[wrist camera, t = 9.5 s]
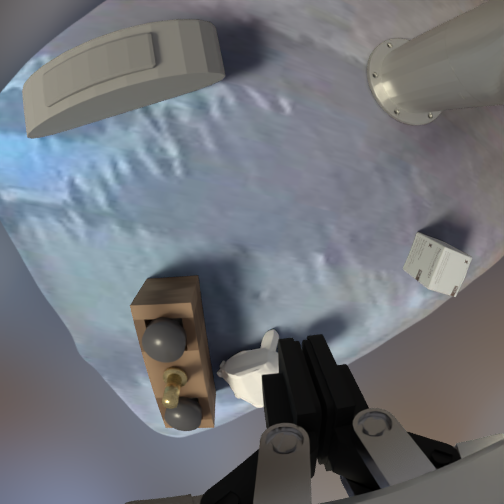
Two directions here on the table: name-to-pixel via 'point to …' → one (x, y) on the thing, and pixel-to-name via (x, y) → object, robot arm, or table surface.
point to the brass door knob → (173, 386)
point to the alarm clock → (121, 74)
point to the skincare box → (437, 264)
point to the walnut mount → (196, 349)
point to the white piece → (251, 369)
